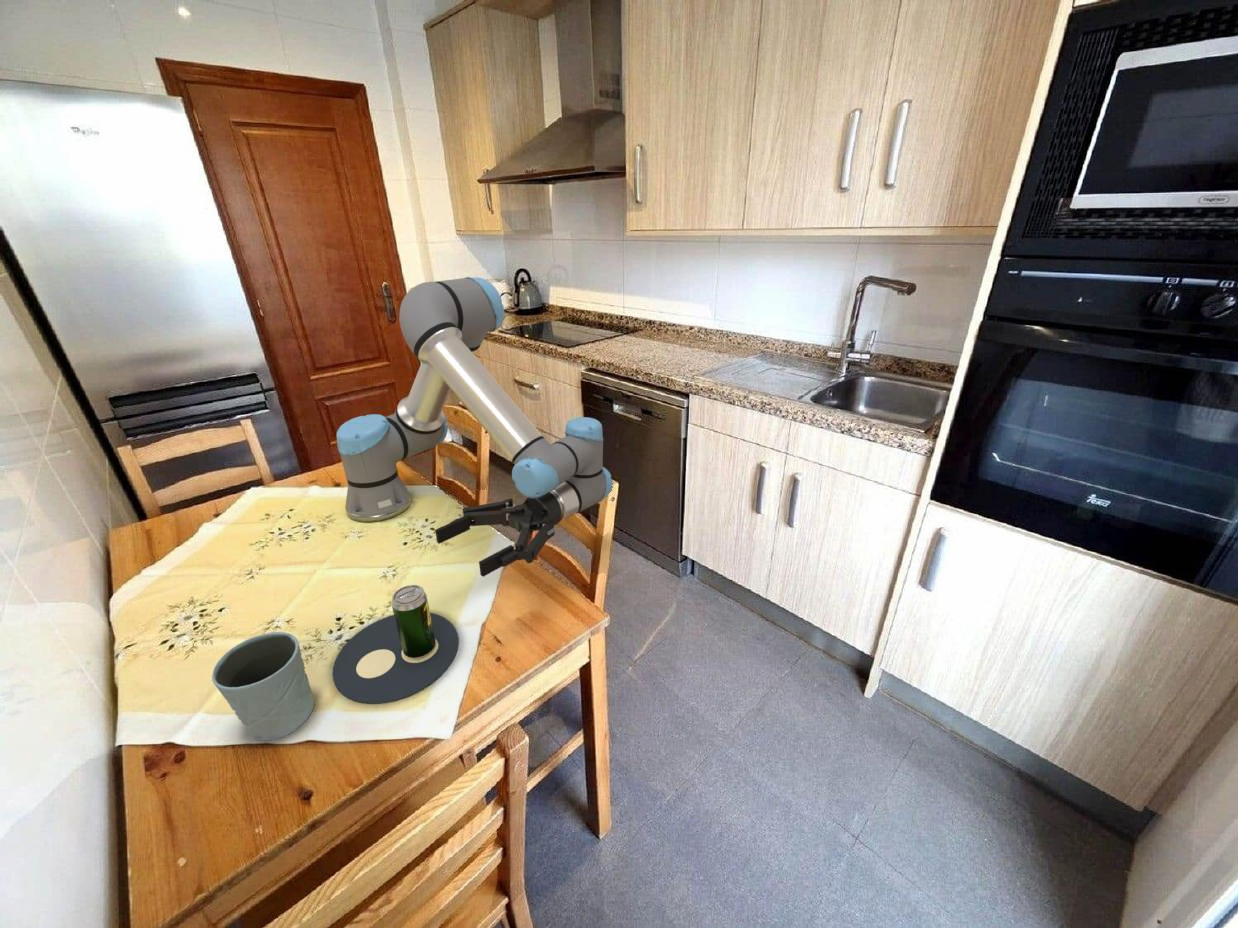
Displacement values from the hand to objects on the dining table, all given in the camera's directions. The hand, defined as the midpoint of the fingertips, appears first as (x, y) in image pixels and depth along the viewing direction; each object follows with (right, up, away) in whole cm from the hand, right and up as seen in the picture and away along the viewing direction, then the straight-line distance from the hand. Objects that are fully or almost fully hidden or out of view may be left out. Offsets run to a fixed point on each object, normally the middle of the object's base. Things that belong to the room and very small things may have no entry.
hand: (457, 552), depth 87 cm
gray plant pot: (-23, -23, -11) cm, 34 cm away
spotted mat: (-10, -17, 0) cm, 20 cm away
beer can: (-7, -17, 0) cm, 18 cm away
